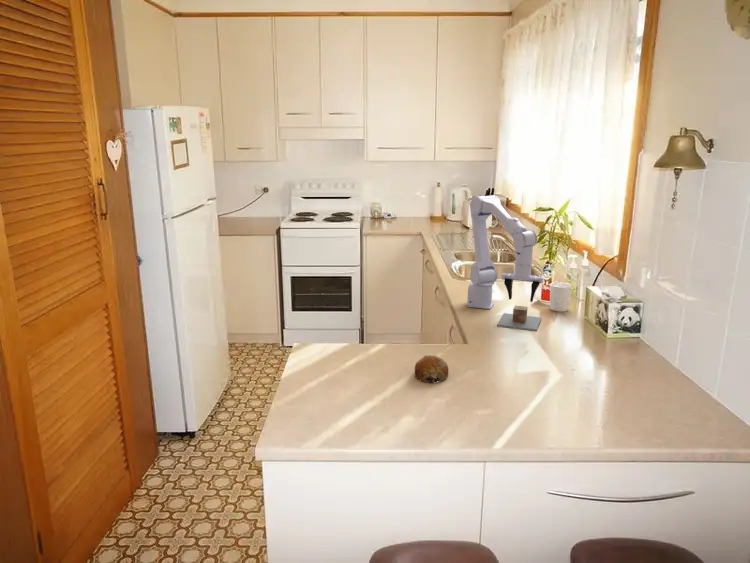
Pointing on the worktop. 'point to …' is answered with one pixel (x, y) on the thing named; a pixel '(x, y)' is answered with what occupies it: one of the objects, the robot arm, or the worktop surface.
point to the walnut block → (520, 314)
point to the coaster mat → (530, 323)
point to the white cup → (559, 296)
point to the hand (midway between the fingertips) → (520, 299)
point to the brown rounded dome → (431, 369)
